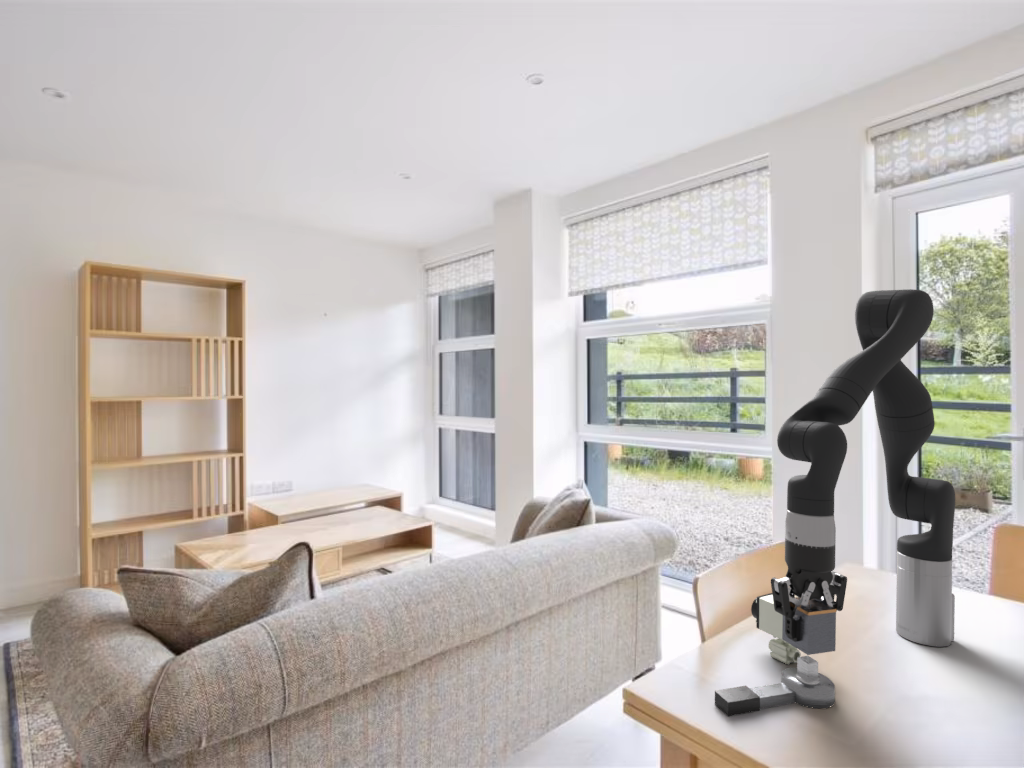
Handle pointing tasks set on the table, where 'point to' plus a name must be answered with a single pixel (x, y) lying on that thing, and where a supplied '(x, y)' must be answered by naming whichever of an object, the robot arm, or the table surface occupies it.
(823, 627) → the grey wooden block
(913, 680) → the table surface
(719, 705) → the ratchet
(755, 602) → the pneumatic valve
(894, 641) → the table surface
